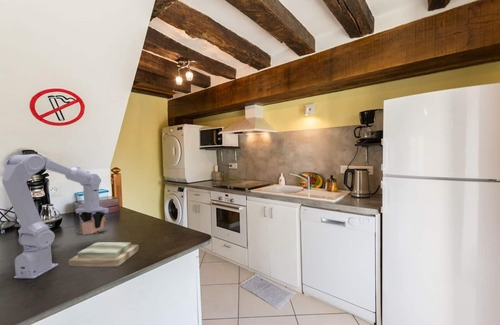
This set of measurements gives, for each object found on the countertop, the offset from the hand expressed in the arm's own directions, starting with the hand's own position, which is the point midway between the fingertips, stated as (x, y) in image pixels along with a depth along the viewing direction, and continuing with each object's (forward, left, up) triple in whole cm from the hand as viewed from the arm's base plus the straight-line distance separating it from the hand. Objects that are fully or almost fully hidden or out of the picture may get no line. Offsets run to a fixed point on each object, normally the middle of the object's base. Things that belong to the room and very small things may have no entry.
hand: (93, 227), depth 104 cm
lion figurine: (+16, +14, -9) cm, 23 cm away
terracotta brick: (0, 0, -2) cm, 2 cm away
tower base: (-11, -14, -9) cm, 20 cm away
